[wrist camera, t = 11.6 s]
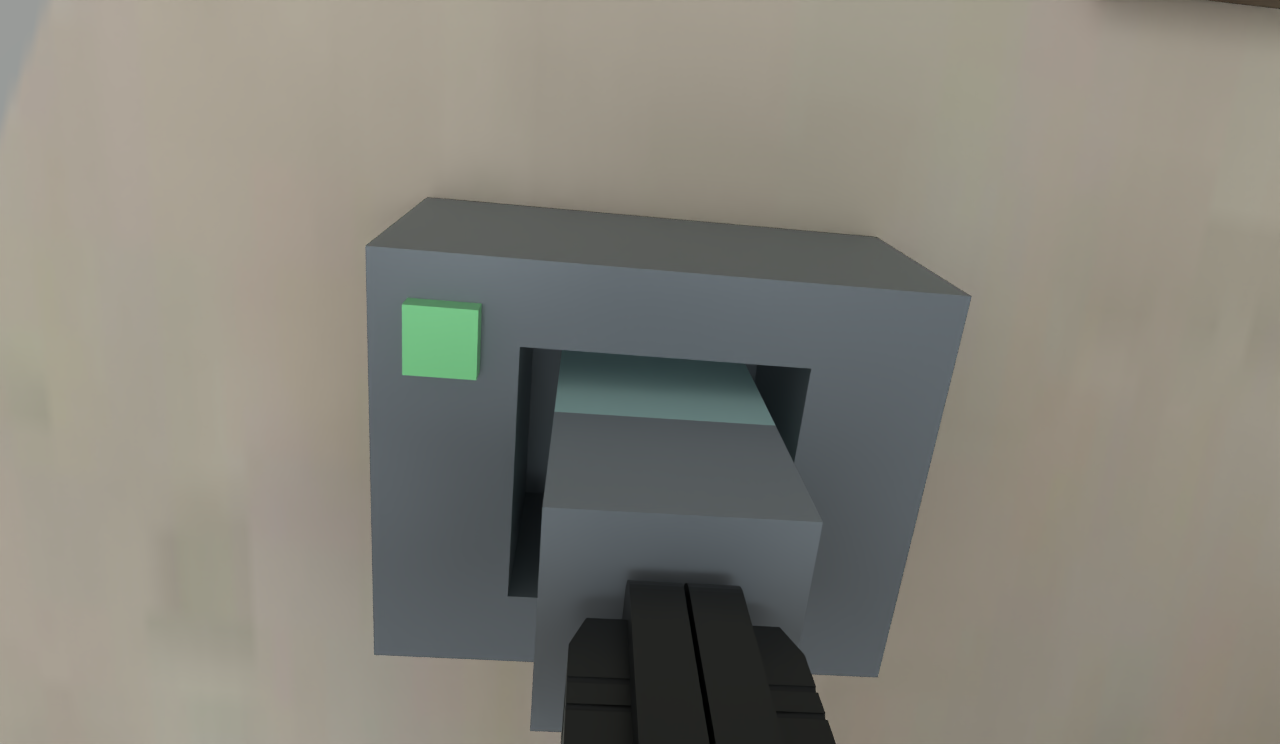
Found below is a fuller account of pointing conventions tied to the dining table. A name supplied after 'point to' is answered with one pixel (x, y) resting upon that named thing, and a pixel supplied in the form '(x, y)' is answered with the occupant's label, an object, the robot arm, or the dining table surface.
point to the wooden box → (1255, 2)
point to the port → (643, 326)
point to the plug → (663, 501)
